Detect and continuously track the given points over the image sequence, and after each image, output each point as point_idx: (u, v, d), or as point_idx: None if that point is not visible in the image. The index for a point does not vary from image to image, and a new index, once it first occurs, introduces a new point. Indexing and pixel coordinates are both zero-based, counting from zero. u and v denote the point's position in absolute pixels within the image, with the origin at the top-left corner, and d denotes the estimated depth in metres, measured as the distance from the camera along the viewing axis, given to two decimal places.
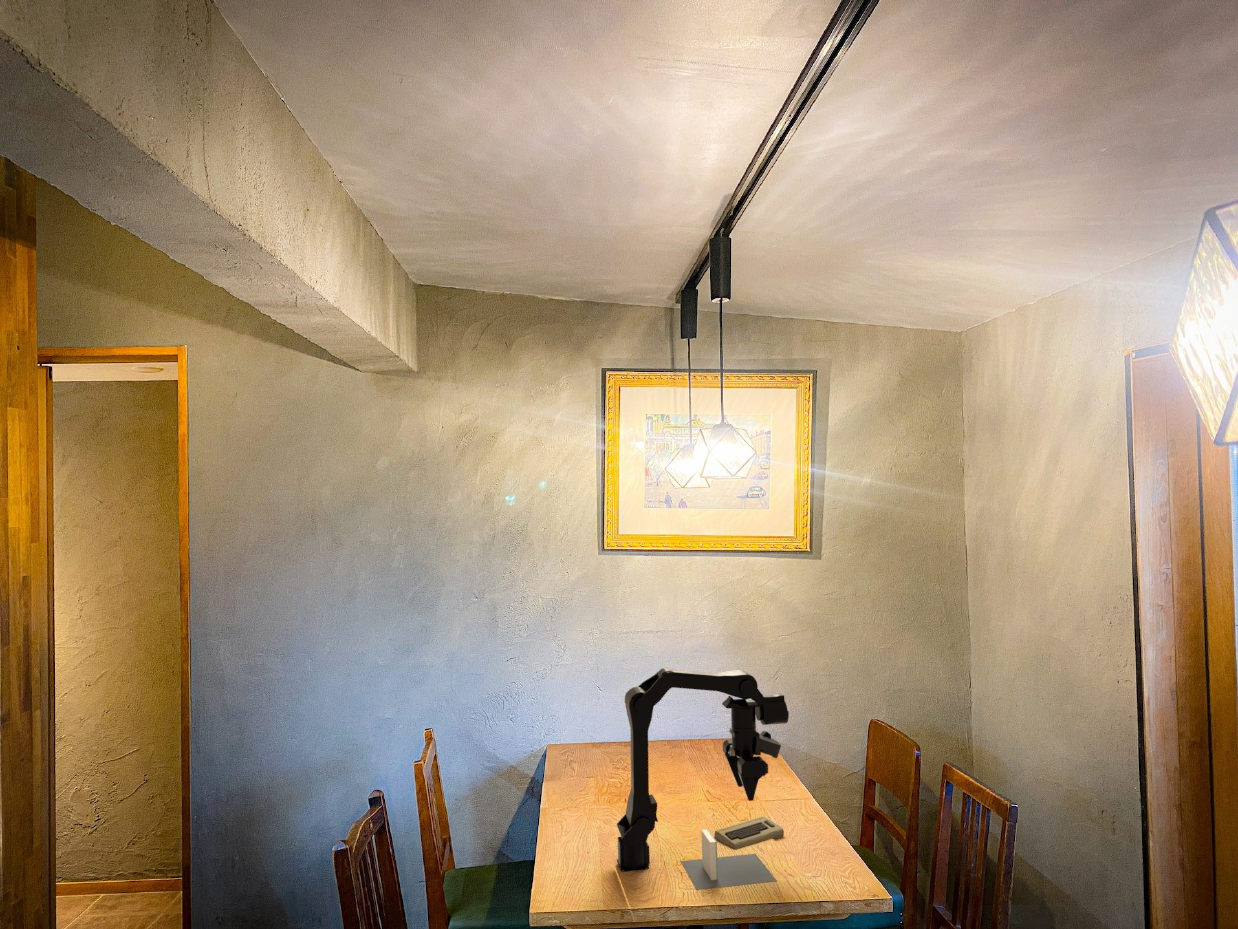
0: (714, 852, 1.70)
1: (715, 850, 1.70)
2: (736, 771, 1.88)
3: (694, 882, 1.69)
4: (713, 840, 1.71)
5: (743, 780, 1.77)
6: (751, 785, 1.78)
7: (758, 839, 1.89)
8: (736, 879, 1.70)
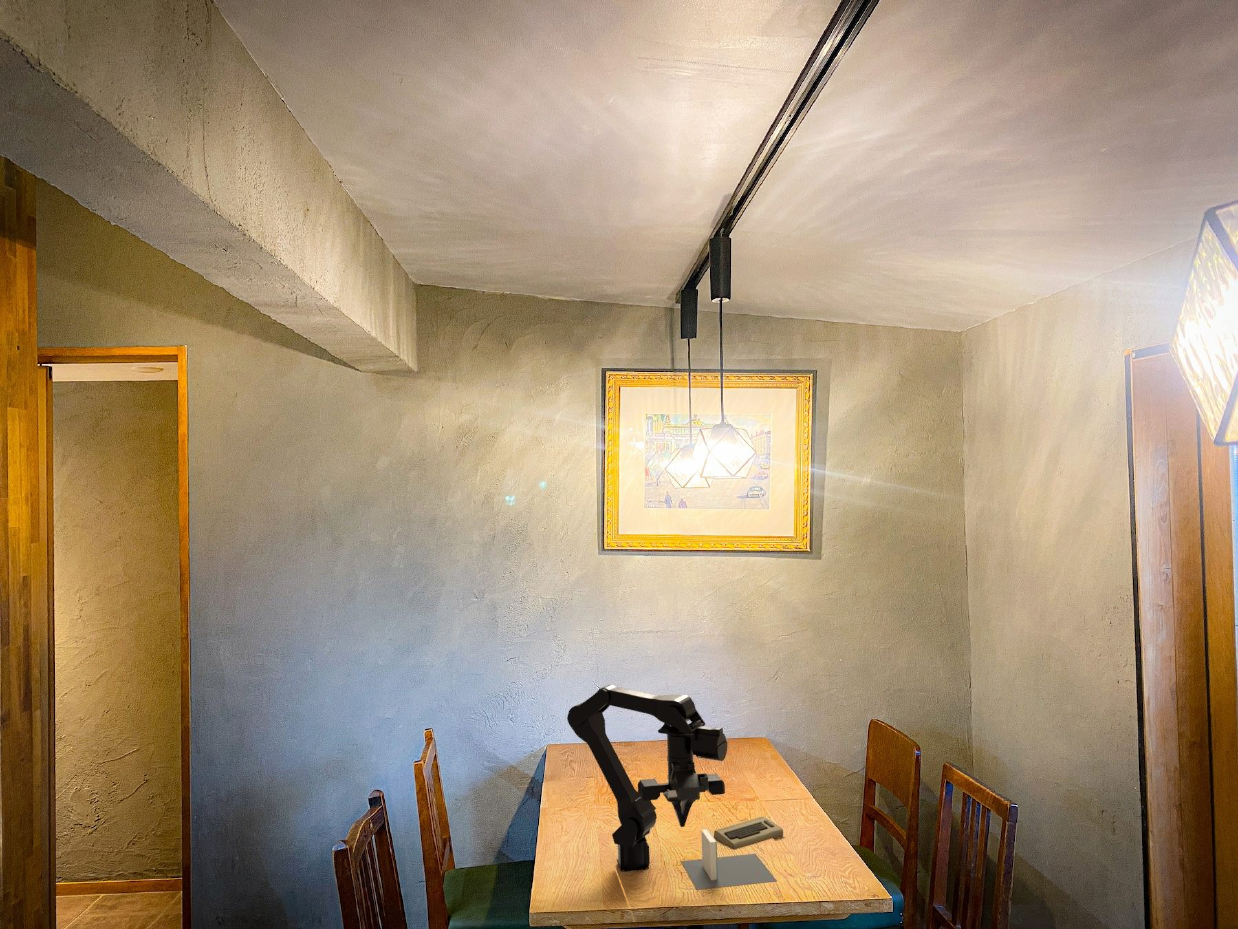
0: (714, 852, 1.70)
1: (715, 850, 1.70)
2: (682, 808, 1.74)
3: (694, 882, 1.69)
4: (713, 840, 1.71)
5: None
6: (675, 809, 1.73)
7: (757, 838, 1.89)
8: (736, 879, 1.70)
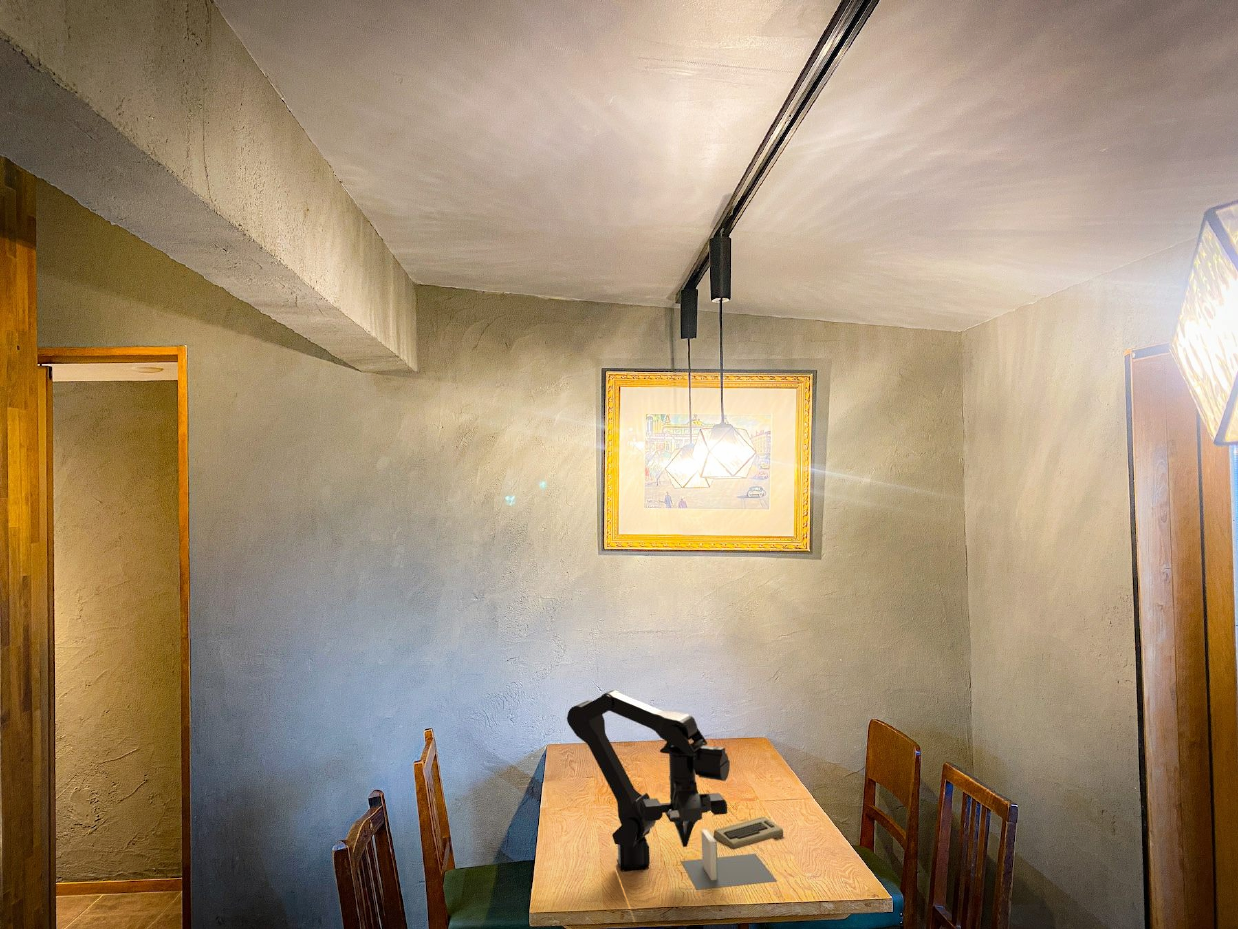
0: (714, 852, 1.70)
1: (715, 850, 1.70)
2: (684, 828, 1.74)
3: (694, 882, 1.69)
4: (713, 840, 1.71)
5: None
6: (678, 829, 1.73)
7: (757, 838, 1.89)
8: (736, 879, 1.70)
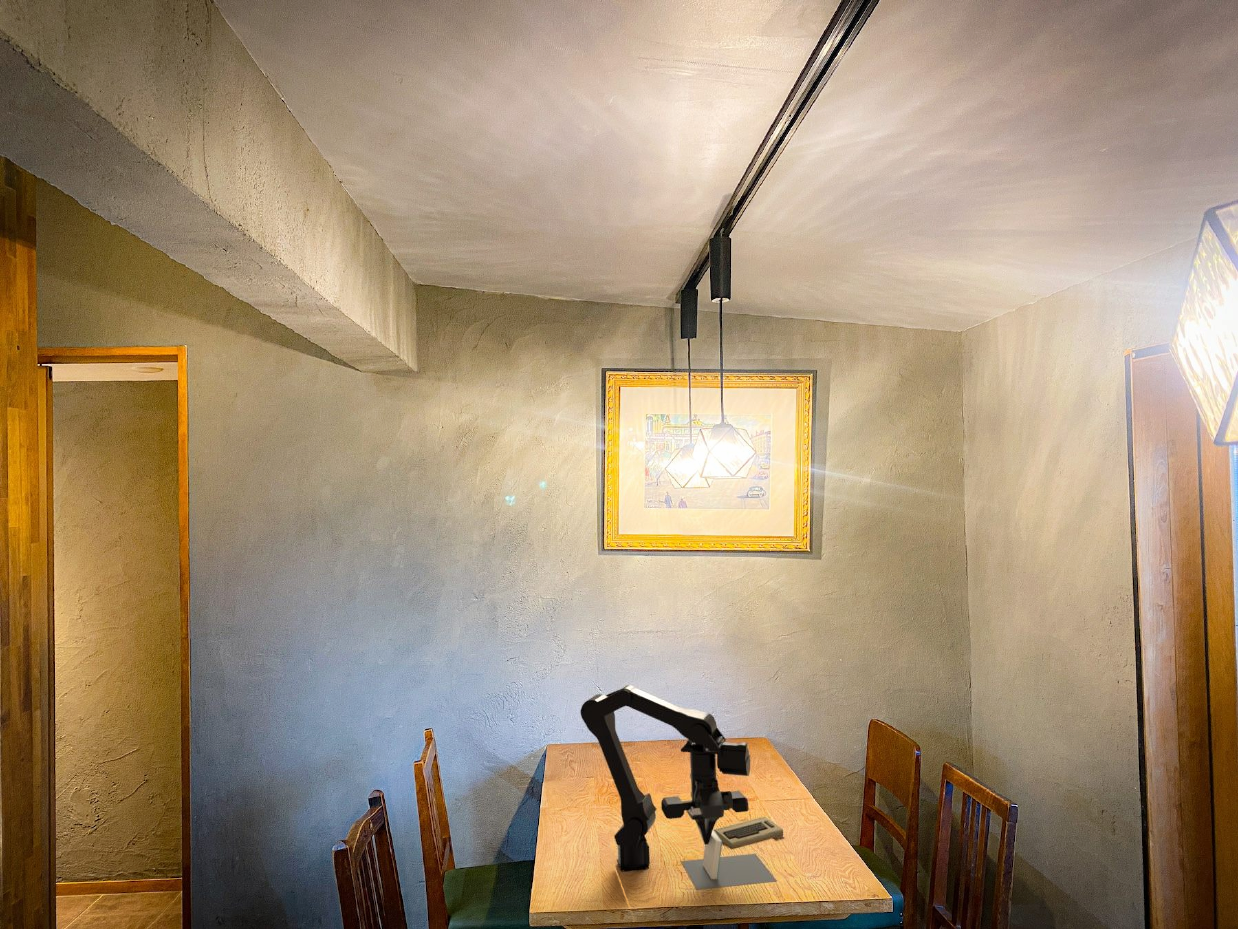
0: (718, 851, 1.70)
1: (719, 850, 1.70)
2: (705, 825, 1.75)
3: (694, 882, 1.69)
4: (719, 840, 1.71)
5: None
6: (699, 827, 1.74)
7: (756, 838, 1.89)
8: (736, 879, 1.70)
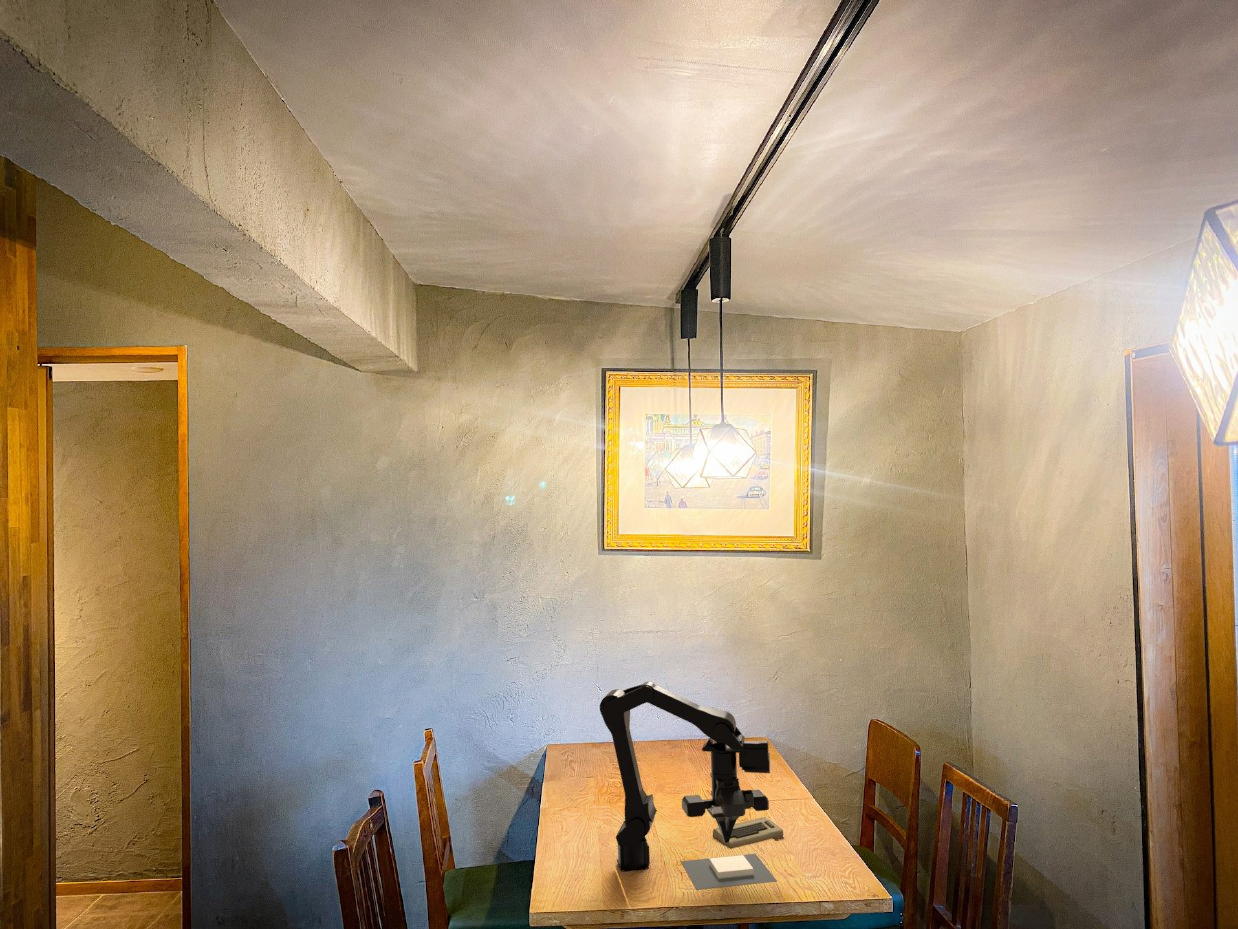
0: (744, 874, 1.71)
1: (745, 875, 1.71)
2: (725, 824, 1.75)
3: (694, 882, 1.69)
4: None
5: None
6: (719, 825, 1.74)
7: (755, 838, 1.89)
8: (736, 879, 1.70)
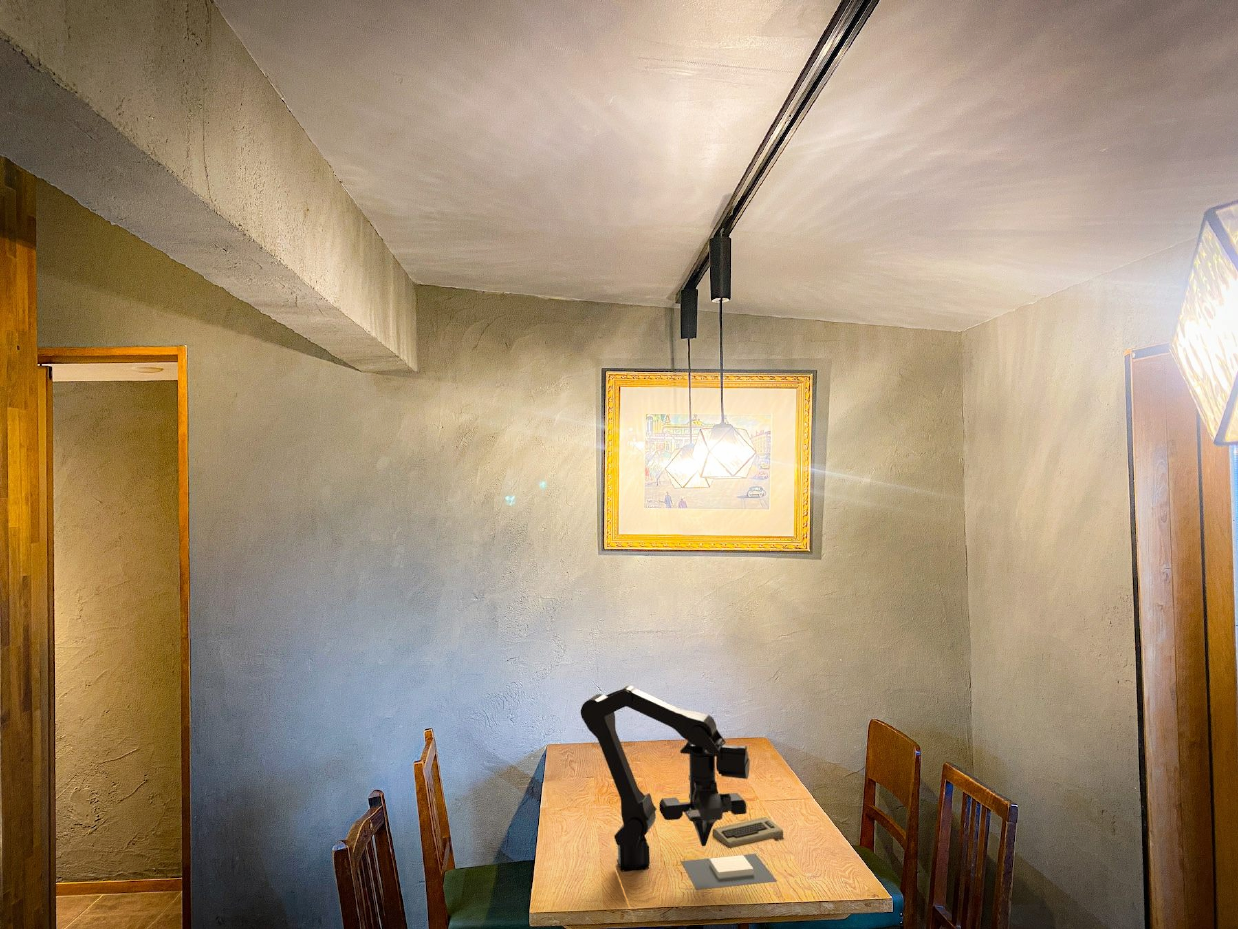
0: (744, 874, 1.71)
1: (745, 875, 1.71)
2: (703, 827, 1.75)
3: (694, 882, 1.69)
4: None
5: None
6: (697, 828, 1.74)
7: (755, 838, 1.89)
8: (736, 879, 1.70)
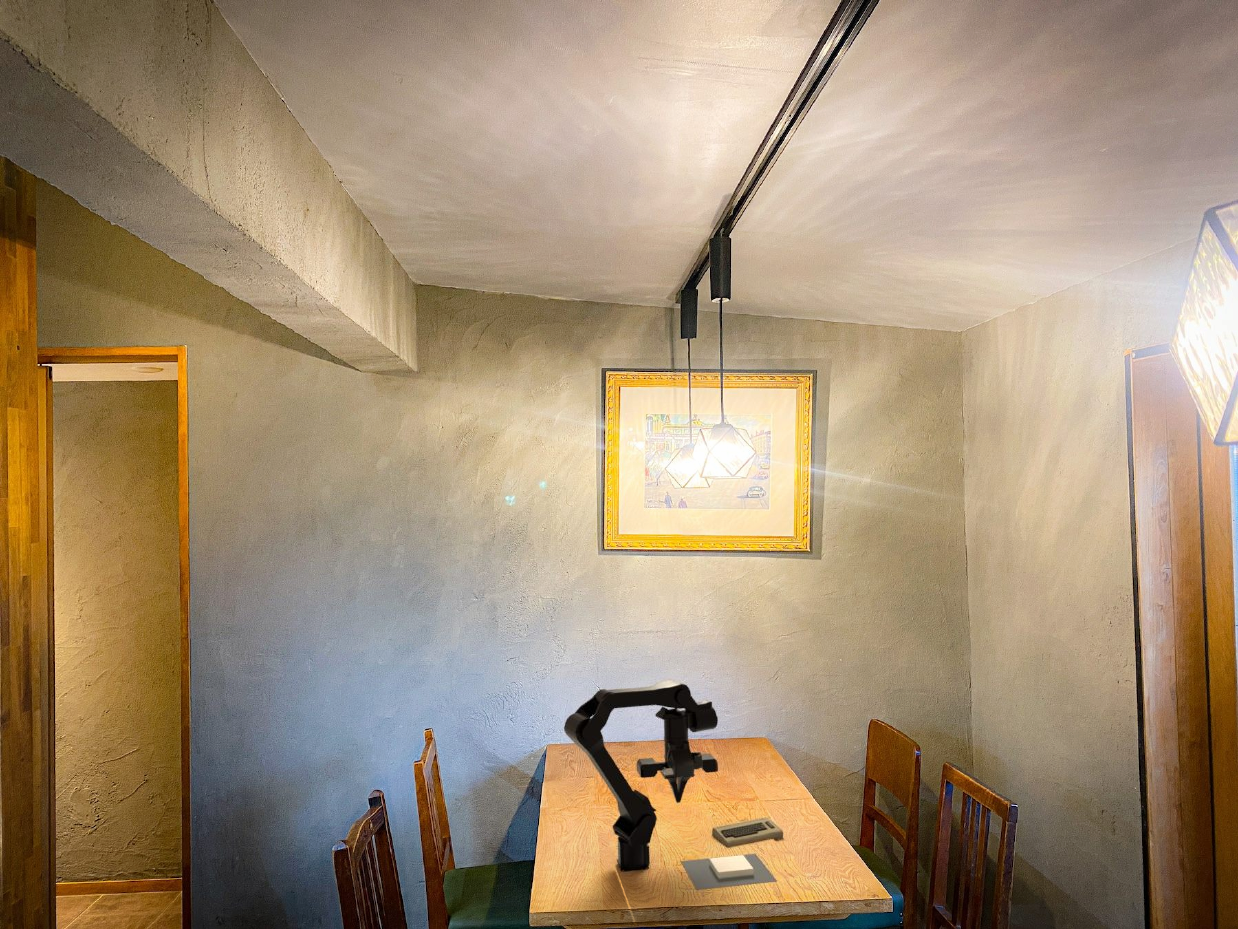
0: (744, 874, 1.71)
1: (745, 875, 1.71)
2: (677, 785, 1.86)
3: (694, 882, 1.69)
4: None
5: None
6: (671, 786, 1.85)
7: (754, 838, 1.89)
8: (736, 879, 1.70)
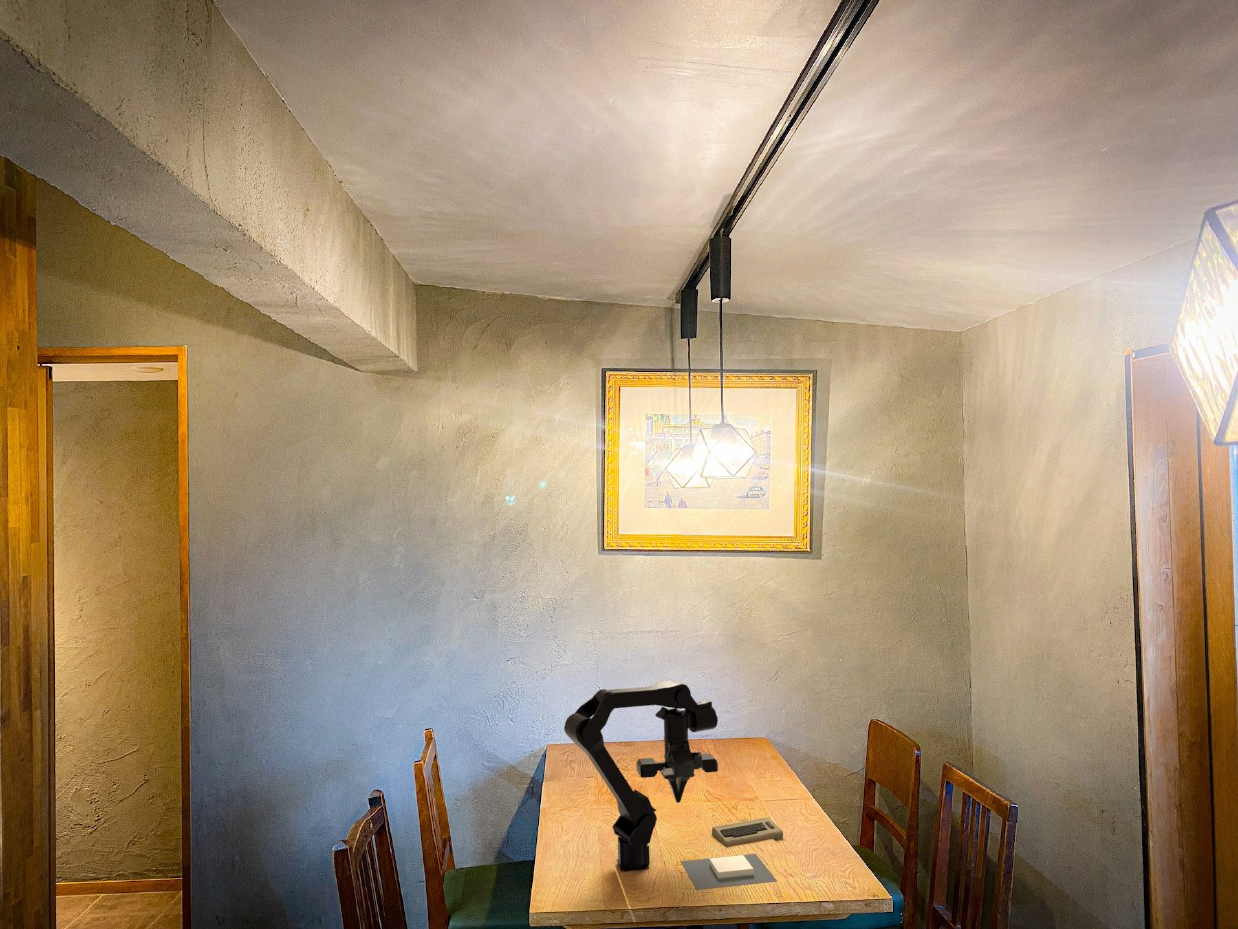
0: (744, 874, 1.71)
1: (745, 875, 1.71)
2: (677, 785, 1.86)
3: (694, 882, 1.69)
4: None
5: None
6: (671, 786, 1.85)
7: (753, 838, 1.89)
8: (736, 879, 1.70)
